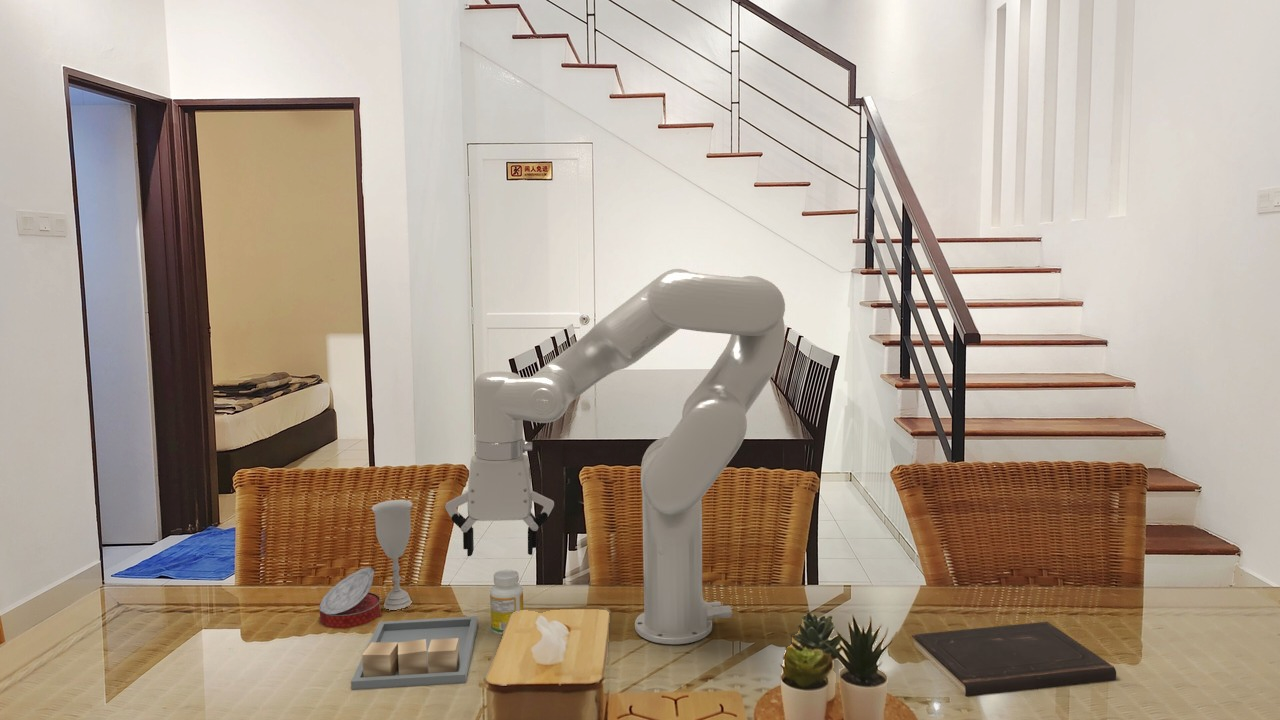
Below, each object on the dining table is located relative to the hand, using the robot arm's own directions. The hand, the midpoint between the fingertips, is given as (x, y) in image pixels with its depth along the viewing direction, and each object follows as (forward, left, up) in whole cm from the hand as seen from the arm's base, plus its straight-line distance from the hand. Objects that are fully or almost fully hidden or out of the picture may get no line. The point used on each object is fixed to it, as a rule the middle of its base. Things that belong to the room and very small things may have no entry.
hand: (500, 552), depth 143 cm
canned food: (+26, -8, -14) cm, 31 cm away
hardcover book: (-76, +21, -14) cm, 80 cm away
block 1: (+17, +14, -13) cm, 25 cm away
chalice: (+19, -13, -13) cm, 27 cm away
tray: (+12, +8, -13) cm, 20 cm away
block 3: (+8, +14, -13) cm, 20 cm away
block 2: (+12, +14, -13) cm, 23 cm away
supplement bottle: (-1, 0, -13) cm, 13 cm away
